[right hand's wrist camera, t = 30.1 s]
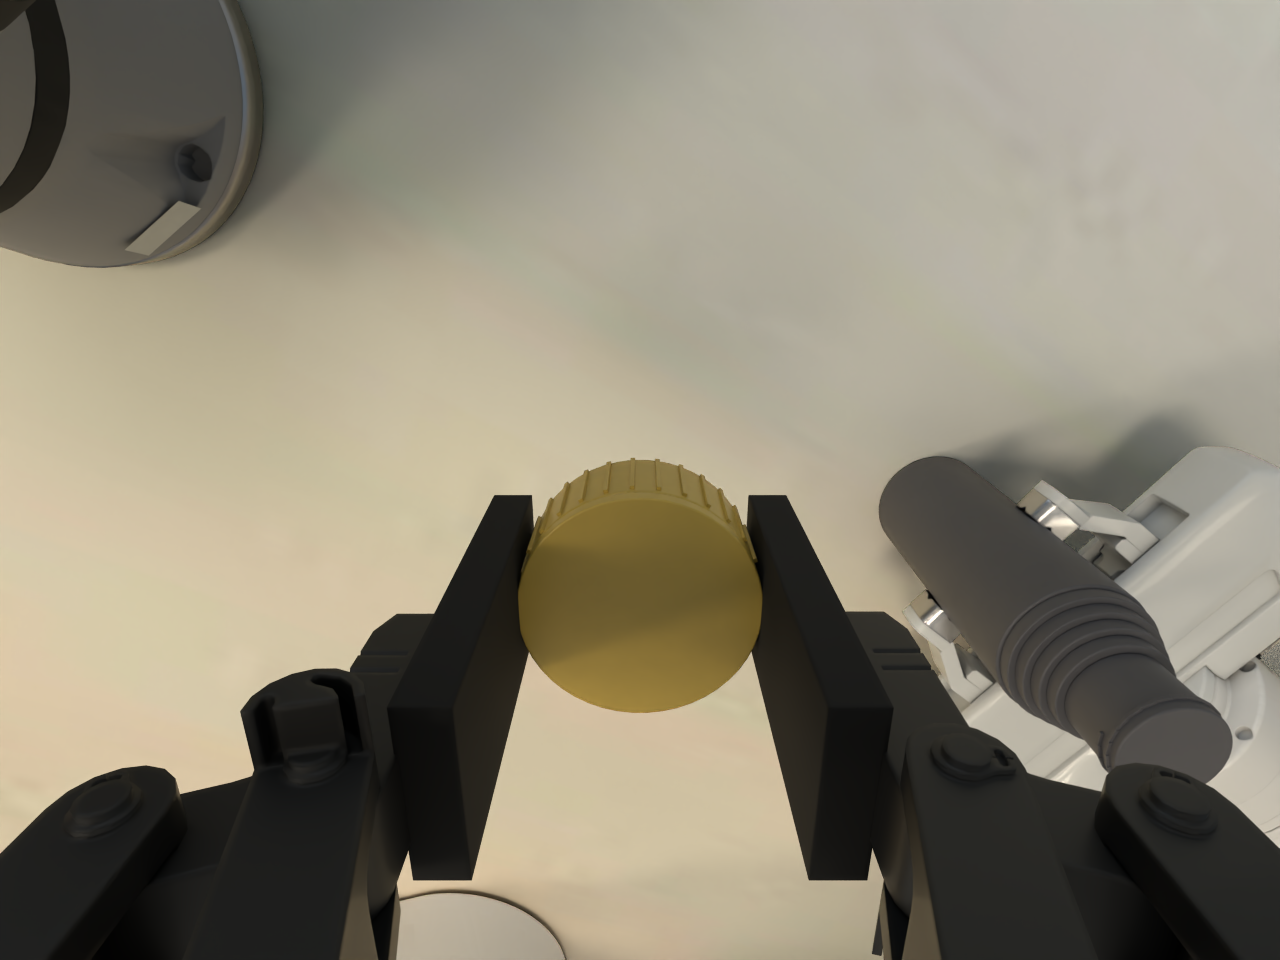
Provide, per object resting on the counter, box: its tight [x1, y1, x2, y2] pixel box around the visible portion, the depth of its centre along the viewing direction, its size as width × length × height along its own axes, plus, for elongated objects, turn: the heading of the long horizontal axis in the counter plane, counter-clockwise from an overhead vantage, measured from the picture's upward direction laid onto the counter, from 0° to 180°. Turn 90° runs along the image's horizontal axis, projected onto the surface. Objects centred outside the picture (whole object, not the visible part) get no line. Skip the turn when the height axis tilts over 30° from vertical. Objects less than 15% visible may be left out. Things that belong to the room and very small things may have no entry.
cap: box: [518, 458, 763, 713], centre depth 14 cm, size 4×4×2 cm
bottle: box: [879, 457, 1233, 784], centre depth 28 cm, size 5×5×18 cm
